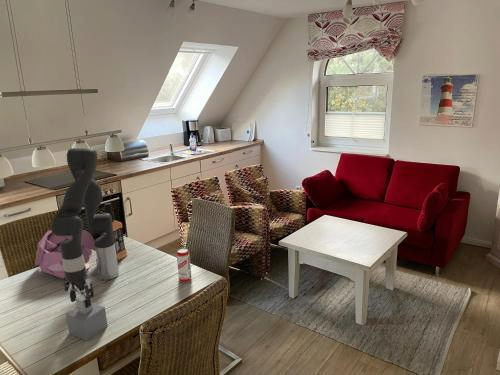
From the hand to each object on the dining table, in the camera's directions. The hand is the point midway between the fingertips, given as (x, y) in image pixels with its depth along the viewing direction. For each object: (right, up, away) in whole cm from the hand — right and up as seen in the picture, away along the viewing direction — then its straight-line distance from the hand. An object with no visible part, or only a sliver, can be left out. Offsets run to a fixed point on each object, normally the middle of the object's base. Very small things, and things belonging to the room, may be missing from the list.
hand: (81, 303), depth 148 cm
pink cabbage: (-30, +1, +53) cm, 61 cm away
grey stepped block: (+1, -12, +5) cm, 13 cm away
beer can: (+34, -1, +40) cm, 53 cm away
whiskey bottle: (-11, +6, +67) cm, 68 cm away
